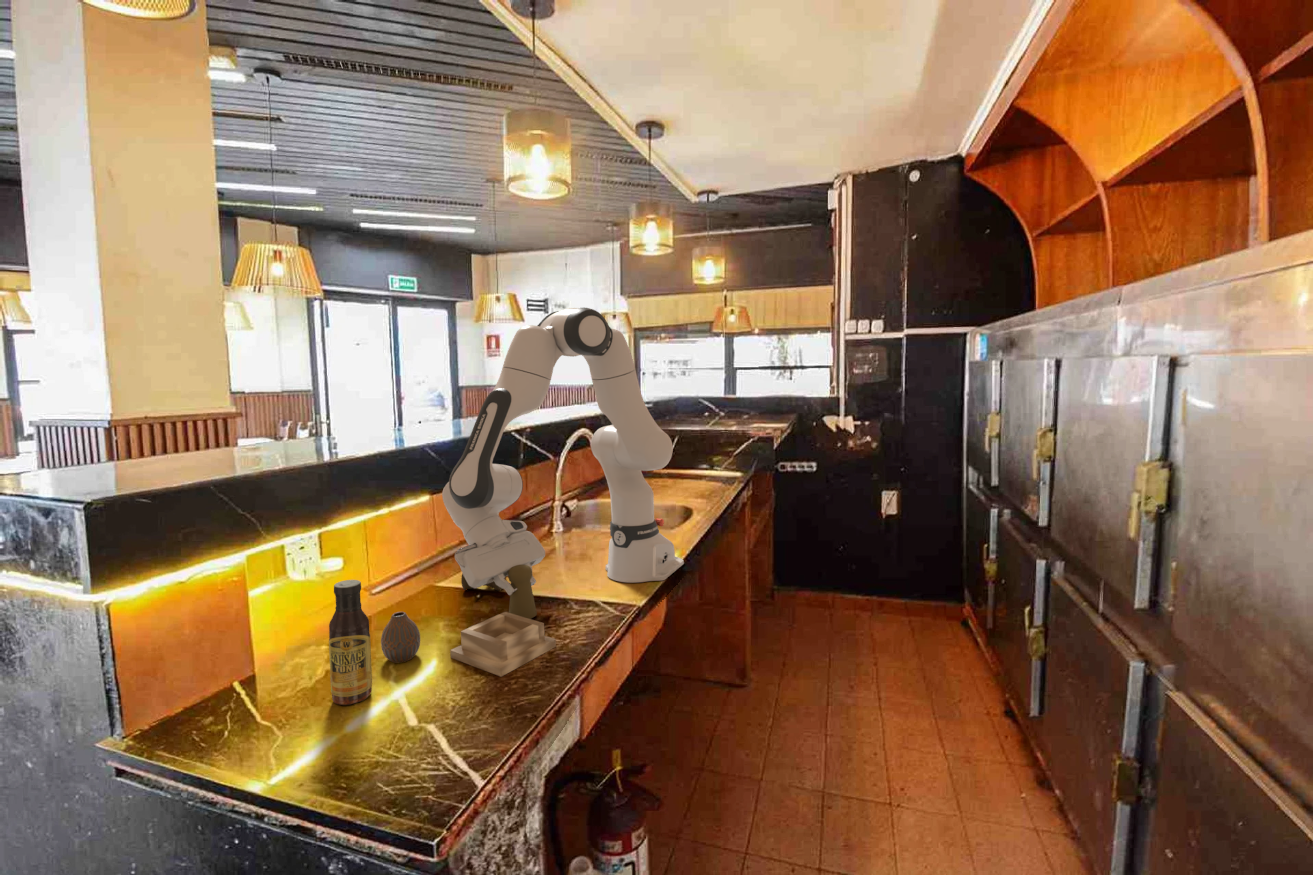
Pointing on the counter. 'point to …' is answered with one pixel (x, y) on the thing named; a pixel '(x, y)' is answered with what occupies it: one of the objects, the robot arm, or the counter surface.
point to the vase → (400, 638)
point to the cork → (522, 592)
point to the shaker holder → (502, 643)
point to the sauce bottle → (349, 646)
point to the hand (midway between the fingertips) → (523, 588)
